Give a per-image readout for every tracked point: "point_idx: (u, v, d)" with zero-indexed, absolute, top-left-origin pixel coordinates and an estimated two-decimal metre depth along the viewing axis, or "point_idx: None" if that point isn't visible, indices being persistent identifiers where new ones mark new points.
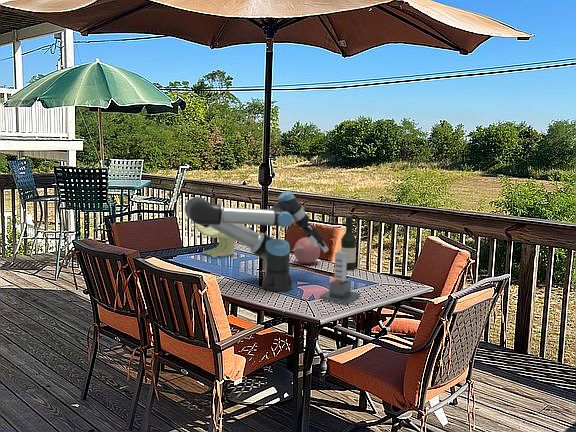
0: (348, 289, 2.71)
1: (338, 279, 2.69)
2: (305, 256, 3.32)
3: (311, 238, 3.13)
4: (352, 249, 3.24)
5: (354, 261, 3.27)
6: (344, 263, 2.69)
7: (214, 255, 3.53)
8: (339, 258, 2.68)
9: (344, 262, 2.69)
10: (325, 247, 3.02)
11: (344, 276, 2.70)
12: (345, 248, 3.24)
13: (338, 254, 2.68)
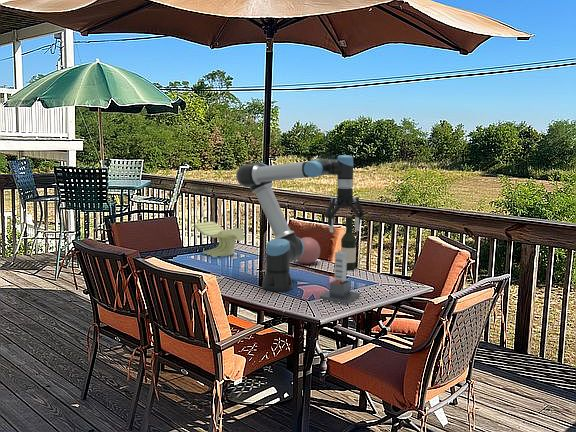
0: (348, 289, 2.71)
1: (338, 279, 2.69)
2: (305, 256, 3.32)
3: (356, 219, 2.86)
4: (352, 249, 3.24)
5: (354, 261, 3.27)
6: (344, 263, 2.69)
7: (214, 255, 3.53)
8: (339, 258, 2.68)
9: (344, 262, 2.69)
10: (331, 227, 2.81)
11: (344, 276, 2.70)
12: (345, 248, 3.24)
13: (338, 254, 2.68)
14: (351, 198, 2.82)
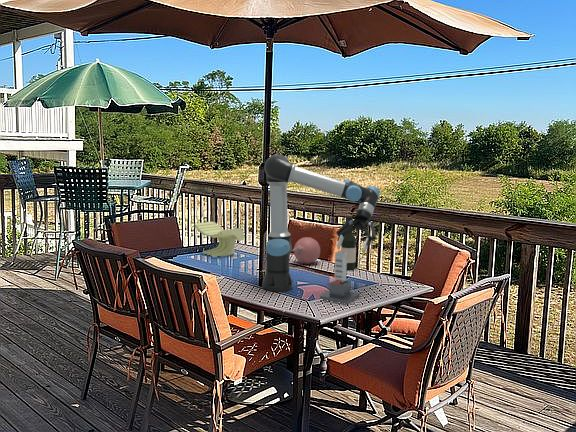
0: (348, 289, 2.71)
1: (338, 279, 2.69)
2: (305, 256, 3.32)
3: None
4: (352, 249, 3.24)
5: (354, 261, 3.27)
6: (344, 263, 2.69)
7: (214, 255, 3.53)
8: (339, 258, 2.68)
9: (344, 262, 2.69)
10: None
11: (344, 276, 2.70)
12: (345, 248, 3.24)
13: (338, 254, 2.68)
14: (366, 221, 2.84)
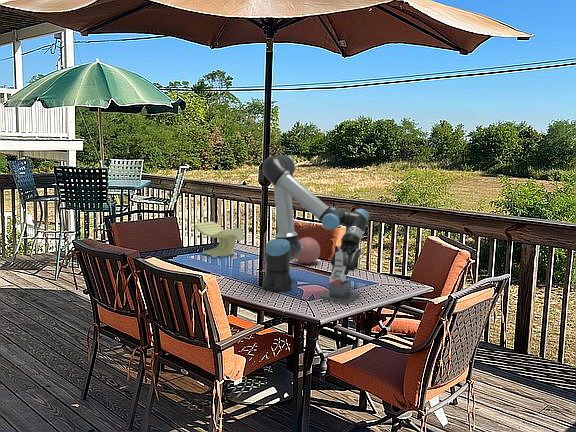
0: (348, 289, 2.71)
1: (338, 279, 2.69)
2: (305, 256, 3.32)
3: None
4: None
5: None
6: (344, 263, 2.69)
7: (214, 255, 3.53)
8: (339, 258, 2.68)
9: (344, 262, 2.69)
10: None
11: None
12: None
13: (338, 254, 2.68)
14: (355, 246, 2.74)
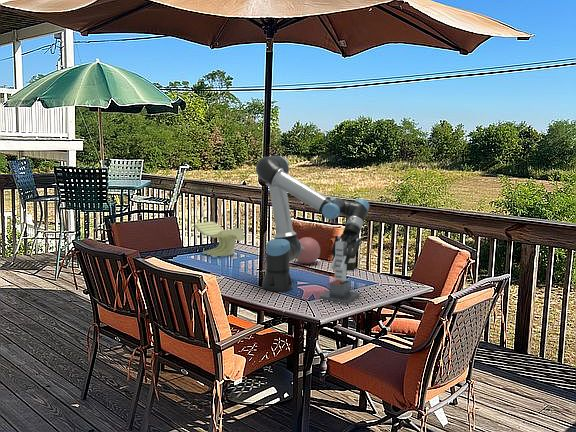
0: (348, 289, 2.71)
1: (338, 269, 2.69)
2: (305, 256, 3.32)
3: None
4: (352, 249, 3.24)
5: (354, 261, 3.27)
6: (345, 252, 2.68)
7: (214, 255, 3.53)
8: (339, 247, 2.67)
9: (344, 251, 2.68)
10: None
11: None
12: None
13: (338, 243, 2.67)
14: (355, 235, 2.73)
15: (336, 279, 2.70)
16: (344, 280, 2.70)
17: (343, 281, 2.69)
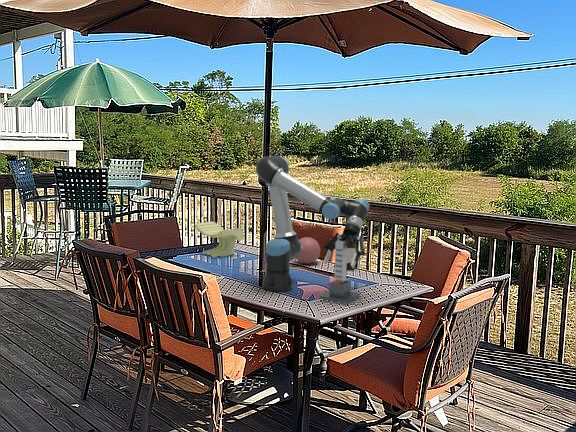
0: (348, 289, 2.71)
1: (338, 268, 2.69)
2: (305, 256, 3.32)
3: None
4: (352, 249, 3.24)
5: None
6: (345, 252, 2.68)
7: (214, 255, 3.53)
8: (339, 247, 2.67)
9: (344, 251, 2.68)
10: None
11: (344, 265, 2.69)
12: None
13: (338, 243, 2.67)
14: (355, 235, 2.74)
15: (336, 279, 2.70)
16: (344, 280, 2.70)
17: (343, 281, 2.69)
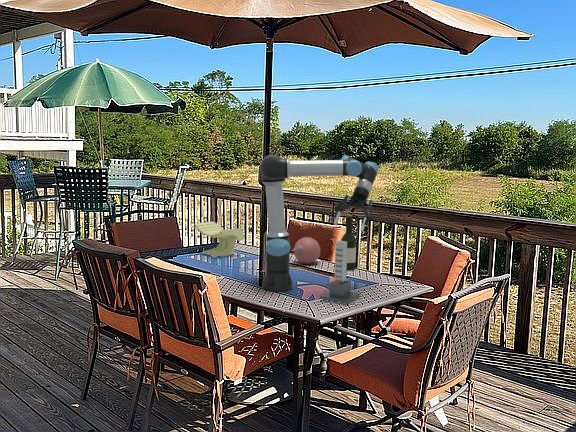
0: (348, 289, 2.71)
1: (338, 268, 2.69)
2: (305, 256, 3.32)
3: None
4: (352, 249, 3.24)
5: (354, 261, 3.27)
6: (345, 252, 2.68)
7: (214, 255, 3.53)
8: (339, 247, 2.67)
9: (344, 251, 2.68)
10: None
11: (344, 265, 2.69)
12: None
13: (338, 243, 2.67)
14: (364, 199, 2.86)
15: (336, 279, 2.70)
16: (344, 280, 2.70)
17: (343, 281, 2.69)
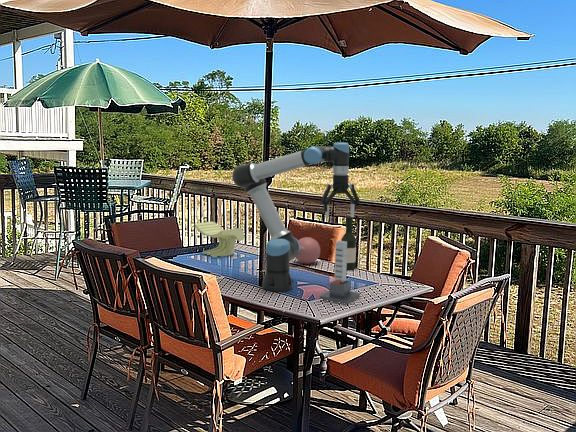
0: (348, 289, 2.71)
1: (338, 268, 2.69)
2: (305, 256, 3.32)
3: (351, 206, 2.90)
4: (352, 249, 3.24)
5: (354, 261, 3.27)
6: (345, 252, 2.68)
7: (214, 255, 3.53)
8: (339, 247, 2.67)
9: (344, 251, 2.68)
10: (326, 213, 2.85)
11: (344, 265, 2.69)
12: None
13: (338, 243, 2.67)
14: (347, 185, 2.86)
15: (336, 279, 2.70)
16: (344, 280, 2.70)
17: (343, 281, 2.69)
